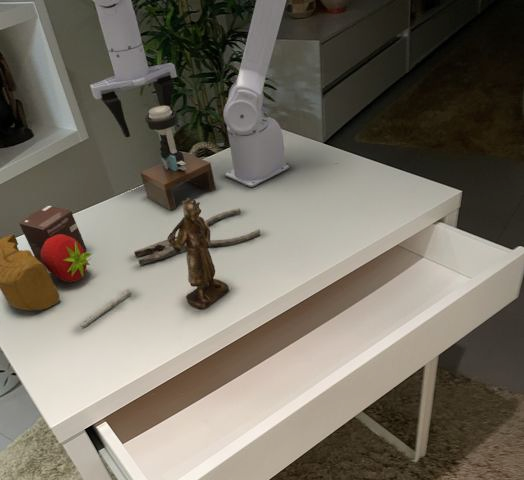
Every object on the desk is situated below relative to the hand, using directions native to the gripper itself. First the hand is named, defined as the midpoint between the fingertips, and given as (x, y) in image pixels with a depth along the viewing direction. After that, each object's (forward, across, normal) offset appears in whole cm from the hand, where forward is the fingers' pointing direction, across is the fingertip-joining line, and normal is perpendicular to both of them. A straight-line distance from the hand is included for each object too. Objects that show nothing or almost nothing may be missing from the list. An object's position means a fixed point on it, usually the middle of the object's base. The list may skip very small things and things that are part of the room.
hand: (147, 129), depth 101 cm
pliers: (+10, -2, -26) cm, 28 cm away
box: (+11, -22, -14) cm, 28 cm away
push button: (+6, +2, -7) cm, 9 cm away
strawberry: (+8, -25, -18) cm, 31 cm away
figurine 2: (+8, -31, -13) cm, 34 cm away
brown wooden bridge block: (+10, +2, -7) cm, 12 cm away
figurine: (+11, -7, -39) cm, 41 cm away
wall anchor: (+10, -20, -33) cm, 40 cm away
